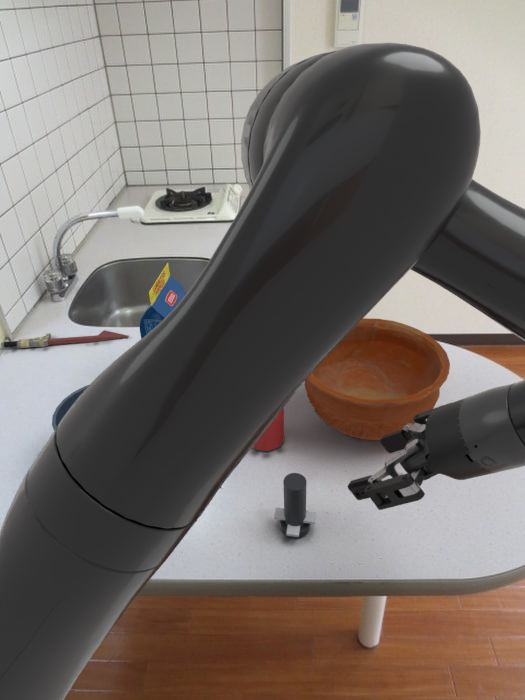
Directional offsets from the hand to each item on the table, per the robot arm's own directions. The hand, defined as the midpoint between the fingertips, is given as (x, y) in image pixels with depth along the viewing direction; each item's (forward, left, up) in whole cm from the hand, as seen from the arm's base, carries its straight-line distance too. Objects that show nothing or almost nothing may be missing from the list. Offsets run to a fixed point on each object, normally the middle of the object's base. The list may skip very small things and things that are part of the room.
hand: (369, 467), depth 62 cm
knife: (+22, +82, -19) cm, 87 cm away
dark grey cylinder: (+1, +11, -19) cm, 22 cm away
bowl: (+28, +10, -19) cm, 35 cm away
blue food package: (+20, +48, -19) cm, 55 cm away
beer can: (+15, +24, -19) cm, 34 cm away
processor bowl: (-1, +45, -19) cm, 48 cm away
